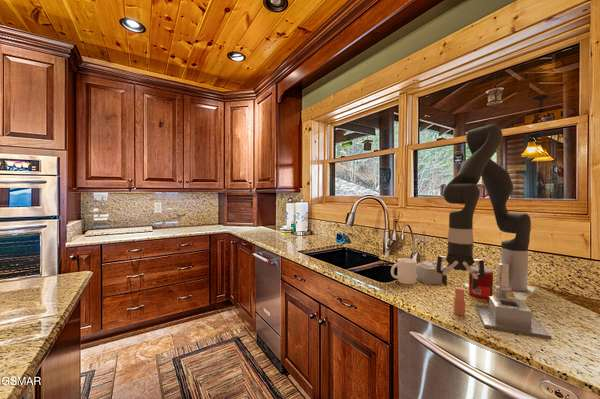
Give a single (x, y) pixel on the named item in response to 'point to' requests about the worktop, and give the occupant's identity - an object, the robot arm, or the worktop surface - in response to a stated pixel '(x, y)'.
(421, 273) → the lumpy-topped squat cylinder
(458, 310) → the stepped block
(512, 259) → the robot arm
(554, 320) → the worktop surface
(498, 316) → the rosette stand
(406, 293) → the worktop surface
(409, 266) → the mug
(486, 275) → the canned food
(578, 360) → the worktop surface
